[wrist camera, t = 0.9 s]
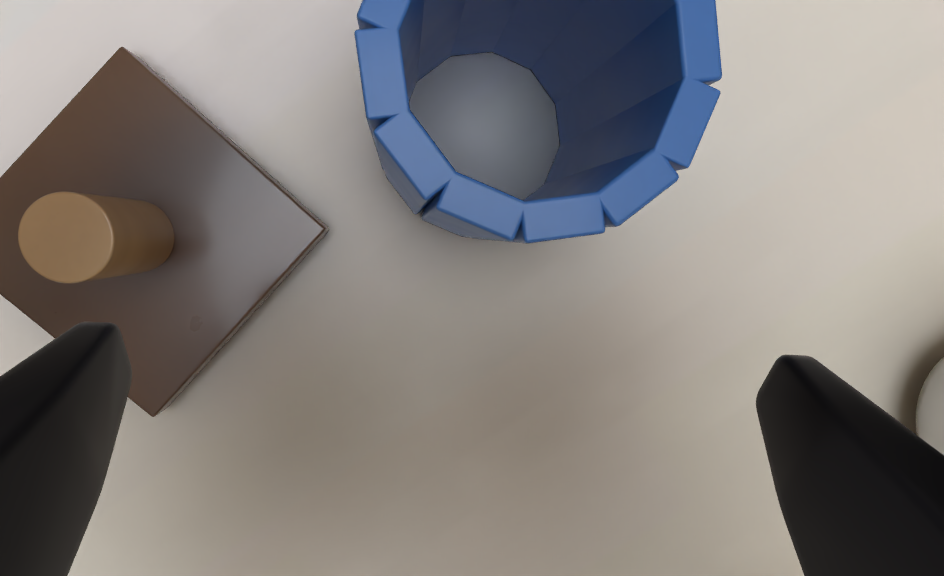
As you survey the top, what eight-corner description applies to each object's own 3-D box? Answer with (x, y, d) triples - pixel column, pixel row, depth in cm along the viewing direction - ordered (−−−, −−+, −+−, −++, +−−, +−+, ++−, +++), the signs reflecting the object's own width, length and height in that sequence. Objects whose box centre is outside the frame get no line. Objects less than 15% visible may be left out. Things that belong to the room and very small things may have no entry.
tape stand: (330, 228, 22) (306, 228, 16) (166, 408, 22) (88, 467, 16) (136, 55, 21) (42, -7, 15) (-37, 243, 21) (-194, 248, 15)
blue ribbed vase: (591, 222, 23) (736, 215, 13) (393, 248, 22) (386, 262, 12) (568, 19, 22) (703, -153, 12) (364, 40, 21) (332, -124, 12)
